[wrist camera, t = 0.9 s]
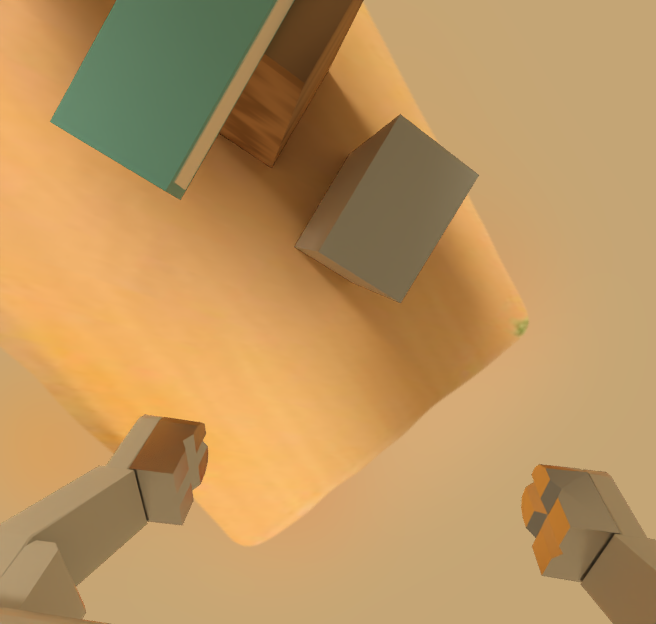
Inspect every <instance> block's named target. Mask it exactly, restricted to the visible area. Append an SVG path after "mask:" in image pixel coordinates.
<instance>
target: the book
mask: <svg viewBox="0 0 656 624" xmlns="http://www.w3.org/2000/svg"><path fill="white" fill-rule="evenodd" d="M294 1H295V0H116V2H115V4H114V6H113V8H112V9H111V11H110V13H109V15H108V17H107V19H106V20H105V22H104V24H103V26H102V28H101V29H100V31H99V33H98V35H97V37H96V39H95V40H94V42H93V44H92V46H91V48H90V50H89V51H88V53H87V55H86V57H85V59H84V61H83V62H82V64H81V66H80V68H79V70H78V71H77V73H76V75H75V77H74V79H73V81H72V82H71V84H70V86H69V88H68V90H67V92H66V93H65V95H64V97H63V99H62V101H61V103H60V104H59V106H58V108H57V110H56V112H55V113H54V115H53V117H52V119H51V121H50V122H51V123H53V124H54V125H56V126H58V127H59V128H61V129H63V130H64V131H66V132H68V133H69V134H71V135H73V136H74V137H76V138H78V139H79V140H81V141H83V142H84V143H86V144H88V145H89V146H91V147H93V148H94V149H96V150H98V151H99V152H101V153H103V154H104V155H106V156H108V157H109V158H111V159H113V160H114V161H116V162H118V163H119V164H121V165H123V166H124V167H126V168H128V169H129V170H131V171H133V172H134V173H136V174H138V175H139V176H141V177H143V178H144V179H146V180H148V181H149V182H151V183H153V184H154V185H156V186H158V187H159V188H161V189H163V190H164V191H166V192H168V193H169V194H171V195H173V196H175V197H176V198H178V199H180V200H181V198H182V196H183V195H184V193H185V191H186V190H187V188H188V186H189V184H190V183H191V181H192V179H193V177H194V176H195V174H196V172H197V170H198V169H199V167H200V165H201V163H202V162H203V160H204V158H205V156H206V155H207V153H208V151H209V149H210V148H211V146H212V144H213V142H214V141H215V139H216V137H217V135H218V134H219V132H220V130H221V128H222V127H223V125H224V123H225V121H226V120H227V118H228V116H229V114H230V113H231V111H232V109H233V107H234V106H235V104H236V102H237V100H238V99H239V97H240V95H241V93H242V92H243V90H244V88H245V86H246V85H247V83H248V81H249V79H250V78H251V76H252V74H253V72H254V71H255V69H256V67H257V65H258V64H259V62H260V60H261V58H262V57H263V55H264V53H265V51H266V50H267V48H268V46H269V45H270V43H271V41H272V39H273V38H274V36H275V34H276V32H277V31H278V29H279V27H280V25H281V24H282V22H283V20H284V18H285V17H286V15H287V13H288V11H289V10H290V8H291V6H292V4H293V3H294Z"/></svg>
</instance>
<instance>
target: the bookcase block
mask: <svg viewBox="0 0 656 624" xmlns="http://www.w3.org/2000/svg"><path fill="white" fill-rule="evenodd" d="M362 2H363V0H295V1H294V3H293V4H292V6H291V8H290V10H289V11H288V13H287V15H286V17H285V18H284V20H283V22H282V24H281V25H280V27H279V29H278V31H277V32H276V34H275V36H274V38H273V39H272V41H271V43H270V45H269V46H268V48H267V50H266V51H265V53H264V55H263V57H262V58H261V60H260V62H259V64H258V65H257V67H256V69H255V71H254V72H253V74H252V76H251V78H250V79H249V81H248V83H247V85H246V86H245V88H244V90H243V92H242V93H241V95H240V97H239V99H238V100H237V102H236V104H235V106H234V107H233V109H232V111H231V113H230V114H229V116H228V118H227V120H226V121H225V123H224V125H223V127H222V128H221V130H220V132H219V133H220V134H221V135H223V136H224V137H226V138H227V139H229V140H230V141H232V142H233V143H235V144H236V145H238V146H239V147H241V148H242V149H244V150H245V151H247V152H248V153H250V154H251V155H253V156H254V157H256V158H257V159H259V160H260V161H262V162H263V163H265V164H266V165H268V166H269V167H271V168H272V166H273V164H274V163H275V161H276V159H277V158H278V156H279V154H280V152H281V151H282V149H283V147H284V146H285V144H286V142H287V140H288V139H289V137H290V135H291V134H292V132H293V130H294V128H295V127H296V125H297V123H298V122H299V120H300V118H301V116H302V115H303V113H304V111H305V110H306V108H307V106H308V104H309V103H310V101H311V99H312V98H313V96H314V94H315V92H316V91H317V89H318V87H319V86H320V84H321V82H322V80H323V79H324V77H325V75H326V74H327V72H328V70H329V68H330V66H331V64H332V62H333V60H334V58H335V56H336V54H337V52H338V50H339V48H340V46H341V44H342V42H343V40H344V38H345V36H346V34H347V32H348V30H349V28H350V26H351V24H352V22H353V20H354V18H355V16H356V14H357V12H358V10H359V8H360V6H361V4H362Z"/></svg>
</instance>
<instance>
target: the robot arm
mask: <svg viewBox="0 0 656 624" xmlns="http://www.w3.org/2000/svg"><path fill="white" fill-rule="evenodd" d="M205 434H206V431H205V425H204V424H203V423H201V422H194V421H188V420H181V419H174V418H168V417H159V416H152V415H145V414H144V415H143V416H142V417H140V418H139V419H138V420H137V422H136V423H135V424H134V426H133V427H132V429H131V430H130V432H129V433H128V434H127V436H126V437H125V439H124V440H123V442H122V443H121V444H120V446H119V447H118V449H117V450H116V452H115V453H114V454H113V456H112V457H111V459H110V460H109V462H108V463H107V465H106V466H98V467H96V468H94V469H93V470H91V471H89V472H87V473H86V474H84V475H83V476H81V477H79V478H77V479H76V480H74V481H72V482H70V483H69V484H67V485H65V486H64V487H62V488H60V489H59V490H57V491H55V492H53V493H52V494H50V495H48V496H47V497H45V498H43V499H42V500H40V501H38V502H36V503H35V504H33V505H31V506H30V507H28V508H26V509H25V510H23V511H21V512H20V513H18V514H16V515H14V516H13V517H11V518H9V519H8V520H6V521H4V522H2V523H1V524H0V624H109V623H102V622H96V621H89V620H83V617H84V615H85V613H86V610H85V605H84V603H83V601H82V599H81V597H80V595H79V592H78V590H77V588H76V586H77V585H78V584H80V583H81V582H82V581H83V580H84V579H85V578H86V577H88V576H89V575H90V574H91V573H92V572H93V571H94V570H95V569H97V568H98V567H99V566H100V565H101V564H102V563H103V562H105V561H106V560H107V559H108V558H109V557H110V556H111V555H112V554H114V553H115V552H116V551H117V550H118V549H119V548H120V547H122V546H123V545H124V544H125V543H126V542H127V541H128V540H129V539H131V538H132V537H133V536H134V535H135V534H136V533H137V532H138V531H139V530H141V529H142V528H143V527H144V526H145V525H146V524H147V521H148V522H157V523H166V524H175V525H183V523H184V521H185V518H186V516H187V514H188V512H189V509H190V507H191V505H192V502H193V493H192V490H193V489H195V488H196V487H197V486H199V485H200V484H201V482H202V479H203V477H204V474H205V471H206V467H207V463H208V446H207V445H206V444H205V443H204V442H203V439H204V437H205ZM532 477H533V479H534V482H533V483H532V484H530V485H528V486H527V487H526V488H525V490H524V493H523V495H522V506H521V508H522V516H523V519H524V523H525V526H526V528H527V529H528V530H529V531H530V532H531V533H532V534H533V536H535V538H536V539H535V541H534V543H533V545H532V548H533V551H534V554H535V557H536V560H537V563H538V566H539V569H540V572H541V575H542V576H547V577H553V578H559V579H565V580H571V581H577V582H582V583H581V585H582V587H583V588H584V589H585V590H586V591H587V593H588V594H589V595H590V596H591V597H592V599H593V600H594V601H595V602H596V603H597V605H598V606H599V607H600V608H601V610H602V611H603V612H604V613H605V614H606V616H607V617H608V618H609V619H610V620H611V622H612V623H613V624H656V540H655V539H649V538H647V537H646V535H645V533H644V531H643V530H642V528H641V526H640V524H639V523H638V521H637V519H636V518H635V516H634V514H633V513H632V511H631V509H630V507H629V506H628V504H627V502H626V501H625V499H624V497H623V496H622V494H621V492H620V490H619V489H618V487H617V485H616V484H615V482H614V480H613V478H612V477H611V476H610V475H609V474H608V473H607V472H602V471H593V470H581V469H577V468H568V467H560V466H551V465H542V464H539V465H538V466H536V467H535V468H534V470H533V473H532Z"/></svg>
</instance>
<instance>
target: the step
mask: <svg viewBox="0 0 656 624" xmlns="http://www.w3.org/2000/svg"><path fill="white" fill-rule="evenodd" d="M478 176H479V175H478V174H477V173H476V172H474V171H473V170H472V169H470V168H469V167H468V166H467V165H465V164H464V163H463V162H461V161H460V160H459V159H458V158H456V157H455V156H453V155H452V154H451V153H450V152H448V151H447V150H446V149H445V148H443V147H442V146H441V145H439V144H438V143H437V142H436V141H434V140H433V139H432V138H430V137H429V136H428V135H426V134H425V133H424V132H423V131H421V130H420V129H419V128H417V127H416V126H415V125H413V124H412V123H411V122H410V121H408V120H407V119H406V118H404V117H403V116H402V115H401V114H400V115H399V116H397V117H396V118H395V119H394V120H392V121H391V122H390V123H389V124H387V125H386V126H385V127H383V128H382V129H381V130H380V131H378V132H377V133H376V134H375V135H373V136H372V137H371V138H369V139H368V140H367V141H366V142H364V143H363V144H362V145H361V146H359V147H358V148H357V149H355V150H354V151H353V152H352V153H350V154H349V155H348V157H347V159H346V160H345V162H344V164H343V165H342V167H341V169H340V170H339V172H338V174H337V176H336V177H335V179H334V181H333V182H332V184H331V186H330V187H329V189H328V191H327V192H326V194H325V196H324V197H323V199H322V201H321V203H320V204H319V206H318V208H317V209H316V211H315V213H314V214H313V216H312V218H311V219H310V221H309V223H308V224H307V226H306V228H305V230H304V231H303V233H302V235H301V236H300V238H299V240H298V241H297V243H296V245H295V246H294V247H295V248H297V249H299V250H300V251H302V252H304V253H305V254H307V255H308V256H310V257H312V258H313V259H315V260H316V261H318V262H320V263H321V264H323V265H325V266H326V267H328V268H329V269H331V270H333V271H334V272H336V273H338V274H339V275H341V276H342V277H344V278H346V279H347V280H349V281H350V282H352V283H355V284H357V285H359V286H362V287H364V288H366V289H369V290H371V291H373V292H376V293H378V294H380V295H383V296H385V297H387V298H390V299H392V300H394V301H397V302H399V303H401V302H402V300H403V298H404V297H405V295H406V293H407V292H408V290H409V289H410V287H411V285H412V284H413V282H414V280H415V279H416V277H417V275H418V274H419V272H420V271H421V269H422V267H423V266H424V264H425V262H426V261H427V259H428V258H429V256H430V254H431V253H432V251H433V249H434V248H435V246H436V244H437V243H438V241H439V240H440V238H441V236H442V235H443V233H444V231H445V230H446V228H447V227H448V225H449V223H450V222H451V220H452V218H453V217H454V215H455V214H456V212H457V210H458V209H459V207H460V205H461V204H462V202H463V200H464V199H465V197H466V196H467V194H468V192H469V191H470V189H471V187H472V186H473V184H474V182H475V181H476V179H477V177H478Z"/></svg>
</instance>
